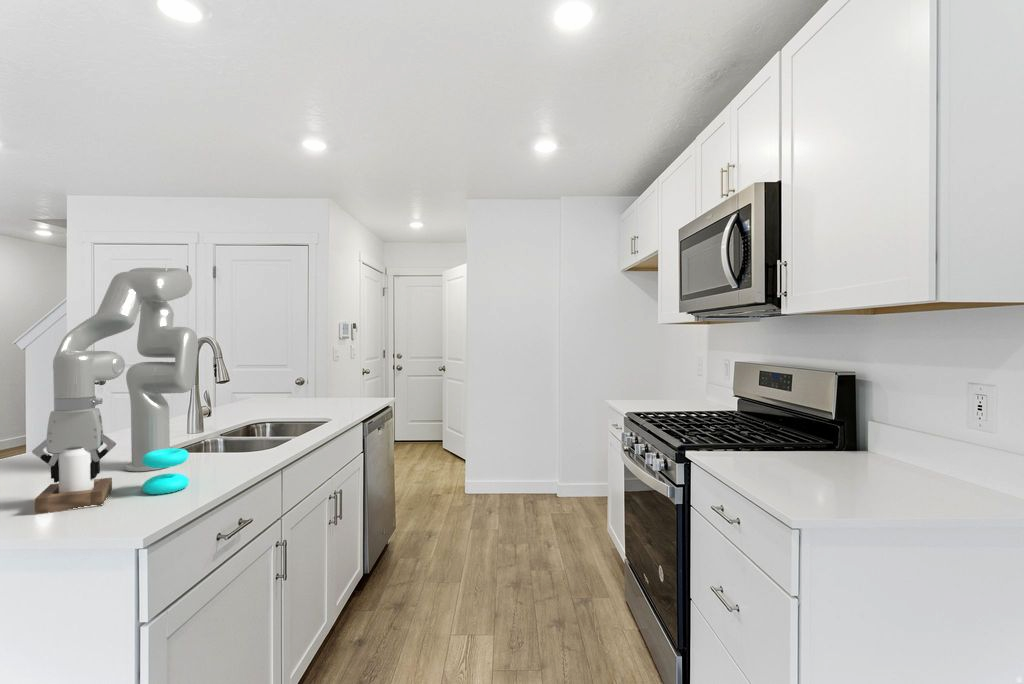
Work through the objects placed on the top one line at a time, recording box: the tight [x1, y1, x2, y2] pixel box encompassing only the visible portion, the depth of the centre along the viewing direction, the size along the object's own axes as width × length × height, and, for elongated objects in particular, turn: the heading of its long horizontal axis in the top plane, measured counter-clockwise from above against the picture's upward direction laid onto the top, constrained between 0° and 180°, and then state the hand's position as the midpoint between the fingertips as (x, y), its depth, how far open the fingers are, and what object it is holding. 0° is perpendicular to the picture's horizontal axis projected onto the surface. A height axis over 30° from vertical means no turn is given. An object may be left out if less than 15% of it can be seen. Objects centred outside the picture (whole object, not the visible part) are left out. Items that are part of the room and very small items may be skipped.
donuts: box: [142, 447, 190, 495], centre depth 134 cm, size 10×10×10 cm
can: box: [58, 447, 95, 493], centre depth 124 cm, size 6×6×12 cm
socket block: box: [34, 477, 113, 515], centre depth 124 cm, size 12×13×4 cm
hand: (76, 478), depth 124 cm, fingers closed on can, 6 cm apart
